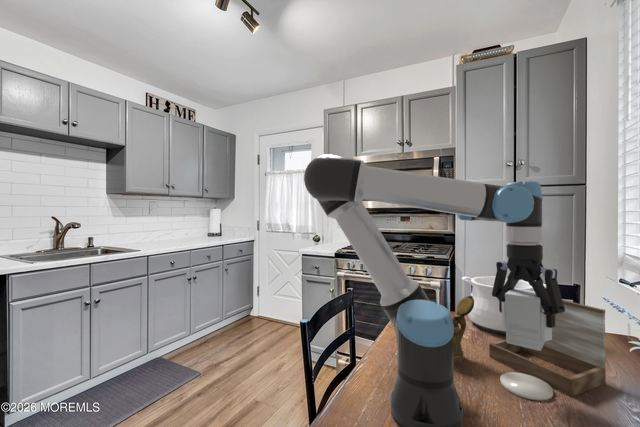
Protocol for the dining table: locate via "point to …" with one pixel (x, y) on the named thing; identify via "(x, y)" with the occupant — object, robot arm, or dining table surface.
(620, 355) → the dining table surface
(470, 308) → the wooden mug
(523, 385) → the saucer
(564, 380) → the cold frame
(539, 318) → the supplement box
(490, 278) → the pot
